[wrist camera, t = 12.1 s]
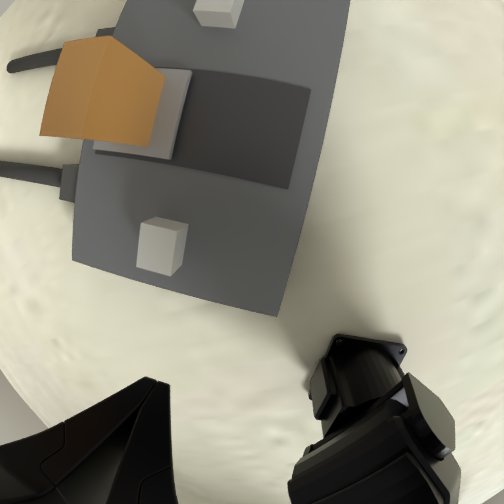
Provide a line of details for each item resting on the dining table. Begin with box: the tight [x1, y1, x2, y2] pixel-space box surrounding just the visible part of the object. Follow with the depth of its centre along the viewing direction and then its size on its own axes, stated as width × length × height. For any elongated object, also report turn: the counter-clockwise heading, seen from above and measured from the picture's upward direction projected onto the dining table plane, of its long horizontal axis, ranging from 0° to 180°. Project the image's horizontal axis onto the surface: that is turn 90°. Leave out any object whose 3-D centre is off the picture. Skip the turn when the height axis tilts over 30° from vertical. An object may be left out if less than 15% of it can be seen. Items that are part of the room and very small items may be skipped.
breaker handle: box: [39, 35, 192, 160], centre depth 11 cm, size 5×5×6 cm
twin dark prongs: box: [0, 48, 62, 187], centre depth 17 cm, size 15×11×1 cm
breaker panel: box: [59, 0, 350, 317], centre depth 15 cm, size 16×20×5 cm
